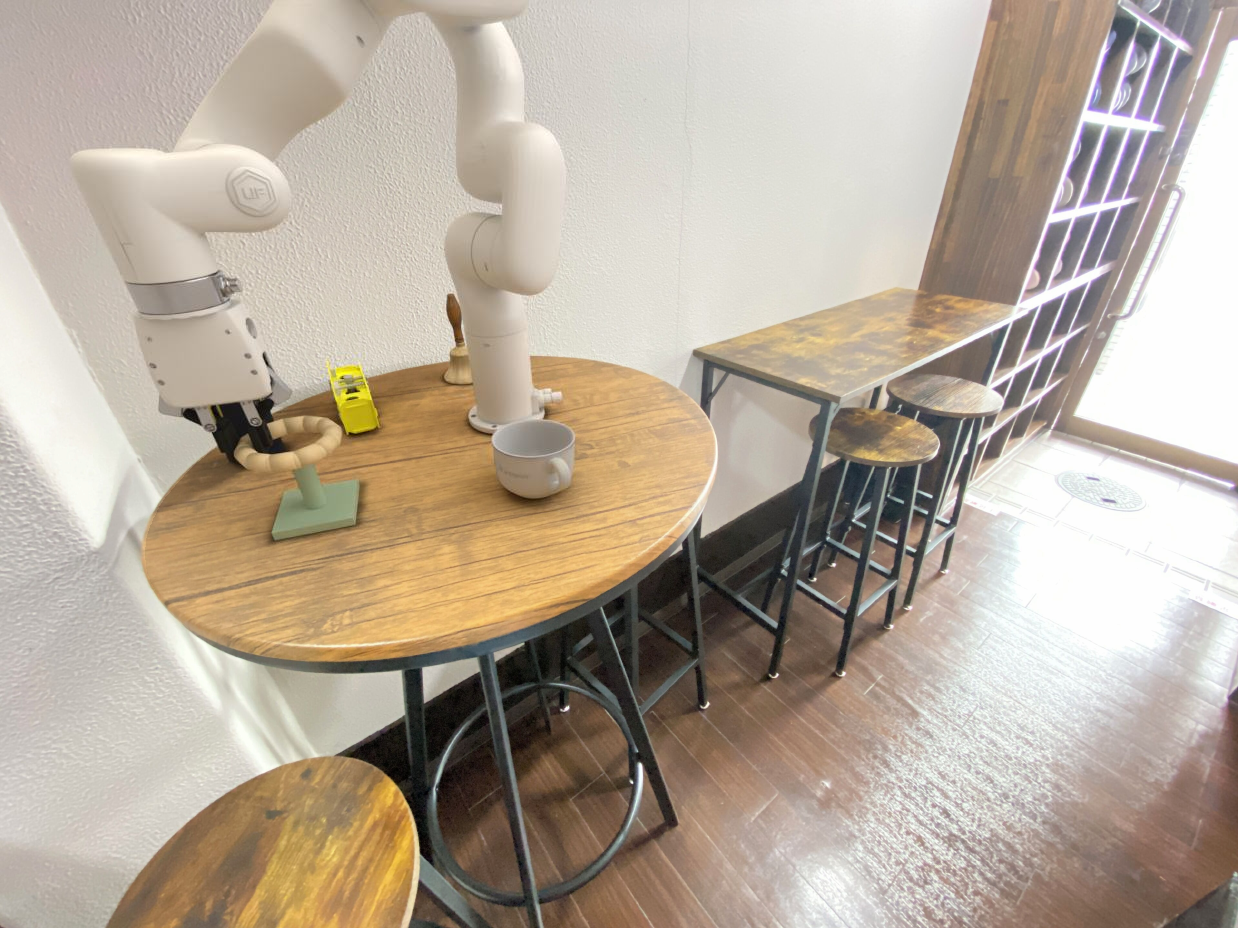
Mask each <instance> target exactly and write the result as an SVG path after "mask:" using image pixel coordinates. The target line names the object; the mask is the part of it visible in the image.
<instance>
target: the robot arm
mask: <svg viewBox="0 0 1238 928" xmlns="http://www.w3.org/2000/svg"><path fill="white" fill-rule="evenodd" d="M532 2H533V0H272V2H271V4H270V6H269V7H268V9H267V11H265V12H266V13H265V14H264V15H263V17H262V18H261V20H260V22H259V23H258V25H257V26H256V28H255V30H254V31H253V32H252V33H251V35H250V36H249V37H248V38H247V40H246V41H245V42H244V43H243V44H242V46H241V47H240V48H239V49H238V52H237V53H236V54H235V56H234V57H233V59H232V60H231V62H230V63H229V64H228V66H227V67H226V68H225V69H224V71H222V73H221V74H220V76H219V77H218V78H217V80H216V81H215V82H214V83H213V85H212V86H211V88H210V89H209V90H208V92H207V93H206V94H205V96H204V97H203V99H202V100H201V102H200V103H199V104H198V106H197V108H196V110H195V111H194V112H193V115H192V117H191V118H190V119H189V122H188V123H187V125H186V126H185V128H184V130H183V132H182V133H181V135H180V136H179V138H178V140H177V142H176V143H175V145H174V147H173V149H172V151H171V152H165V151H163V150H159V149H156V148H155V149H154V148H149V147H148V148H145V147H111V148H108V147H107V148H92V149H91V148H90V149H84V150H83V149H82V150H79V151H76V152H74V153H73V154H72V155H71V156H70V159H69V169H70V172H71V174H72V177H73V179H74V182H75V184H76V186H77V188H78V190H79V192H80V194H81V196H82V198H83V200H84V202H85V204H86V206H87V208H88V211H89V212H90V215H91V216H92V219H93V222H94V223H95V225H96V227H97V229H98V231H99V233H100V235H101V238H102V240H103V241H104V243H105V245H106V248H107V249H108V251H109V254H110V256H111V258H112V260H113V262H114V264H115V266H116V268H117V270H118V271H119V275H120V276H121V278H122V281H123V282H124V285H125V286H126V289H127V291H128V293H129V295H130V297H131V299H132V301H133V303H134V305H135V307H136V309H137V311H136V312H134V313H133V315H132V316H133V317H132V318H133V322H134V328H135V333H136V336H137V341H138V343H139V347H140V350H141V353H142V356H143V359H144V362H145V364H146V367H147V370H148V372H149V374H150V377H151V379H152V382H153V384H154V386H155V388H156V389H157V392H158V394H159V395H158V409H157V410H158V412H159V413H160V414H161V415H166V416H170V417H177V418H184V419H185V420H187V421H189V422H192V423H194V424H196V425H199V426H200V427H202V428H203V430H204V431H205V432H208V433H211V435H212V437H213V439H214V441H215V443H216V445H217V447H218V450H219V451H220V453H221V454H225V456H226V459H227V460H228V462H229V463H235V462H236V463H237V459H236V458H235V457H234V451H235V449H236V447H237V445H238V442H239V438H238V436H237V434H236V431H235V429H234V427H233V424H232V422H231V421H229V419H227V420H225V418H224V417H223V415H222V412H221V410H220V408H219V404H227V403H235V402H240V404H241V406H242V408H243V410H244V413H245V415H246V417H247V419H248V424H249V425H248V427H247V432H248V435H249V437H250V439H251V442H252V444H253V446H254V449H255V451H257V452H258V453H263V454H267V453H268V451H269V449H270V446H272V445H273V438H272V436H271V433H270V431H269V428H268V426H267V423H266V421H265V417H266V416H267V415H268V413H269V412H270V411H271V412H272V410H273V408H274V407H276V406H279V405H281V404H282V403H284V402H286V401H287V400H289V399H290V398H291V397H292V393H293V390H292V388H291V387H290V386H288V385H287V384H286V383H285V381H284V380H283V379H282V378H281V377H280V376H279V375H278V371H277V368H276V365H275V363H274V361H273V358H272V356H271V354H270V352H269V349H268V348H267V345H266V343H265V341H264V338H263V337H262V335H261V333H260V331H259V328H258V327H257V324H256V323H255V322H254V320H253V318H252V316H251V314H250V313H249V311H248V309H247V308H246V306H245V305H244V304H243V301H242V300H241V299H235V298H233V299H231V297H232V295H235V293H242V292H243V291H244V290H243V284H242V282H241V280H240V278H238V277H233V278H232V277H229V276H227V277H226V275H225V274H224V272H223V270H222V269H220V268H219V265H218V263H217V261H216V258H215V256H214V253H213V250H212V248H211V244H210V242H209V240H208V237H207V234H206V233H237V234H238V233H239V234H242V233H243V234H245V233H246V234H250V233H251V234H253V233H255V234H256V233H262V232H266V231H270V230H272V229H274V228H276V227H278V226H280V225H281V224H282V223H283V222H284V221H285V220H286V218H287V217H288V216H289V213H290V211H291V208H292V191H291V186H290V184H289V182H288V180H287V178H286V176H285V175H284V174H283V172H282V171H281V169H279V167H278V166H277V165H276V164H275V163H274V162H275V161H276V159H277V158H278V157H279V155H280V154H281V152H282V151H283V150H284V149H285V148H286V146H287V145H288V144H289V143H290V142H291V141H292V140H293V139H294V138H295V137H296V136H297V135H299V134H300V133H301V132H302V131H304V130H305V129H307V128H309V127H310V126H312V125H313V124H315V123H318V122H320V121H321V120H323V119H325V118H327V117H328V116H330V115H331V114H332V113H334V112H335V111H336V110H337V109H339V108H340V107H341V106H342V105H344V104H345V103H346V101H347V100H348V99H349V97H350V96H351V94H352V92H354V89H355V87H356V85H357V83H358V82H359V80H360V78H361V77H362V75H363V73H364V72H365V70H366V68H367V66H368V65H369V63H370V61H371V59H372V58H373V56H374V54H375V53H376V51H377V49H378V47H379V46H380V44H381V42H382V41H383V39H384V37H385V35H386V34H387V32H388V30H389V28H390V27H391V25H392V24H393V22H394V21H395V20H396V19H397V18H398V17H404V16H408V15H414V14H417V13H418V14H419V13H425V15H426V16H427V18H428V19H429V20H430V22H431V23H432V24H433V26H434V28H435V29H436V30H437V32H438V34H440V36H441V38H442V40H443V41H444V43H445V45H446V47H447V49H448V51H449V54H450V57H451V59H452V62H453V66H454V70H455V71H454V72H455V78H456V80H455V81H456V124H455V125H456V128H455V129H456V131H455V132H456V133H455V167H456V169H455V170H456V176H457V179H458V182H459V185H460V186H461V188H462V189H463V190H464V191H465V192H466V194H468V195H469V196H470V197H472V198H474V199H477V200H480V201H483V202H487V203H491V204H499V205H501V214H498V213H490V212H485V211H484V212H483V211H473V212H472V211H471V212H467V213H464V214H461V215H460V216H458V217H456V218H455V219H454V220H452V222H451V223H450V225H449V226H448V228H447V230H446V233H445V236H444V243H443V248H444V257H445V262H446V265H447V268H448V272H449V274H450V277H451V280H452V283H453V285H454V288H455V293H456V296H457V301H458V303H459V305H460V309H461V314H462V325H463V332H464V338H465V339H464V340H465V345H466V346H467V351H468V357H469V363H470V369H471V376H472V382H473V383H472V386H473V393H474V399H475V405H474V406H472V407H471V409H470V410H469V412H468V417H467V418H468V421H469V424H470V426H471V427H472V428H474V429H475V430H477V431H479V432H482V433H486V434H491V435H493V434H494V433H495V431H496V430H498V429H499V428H501V427H502V426H504V425H506V424H509V423H513V422H516V421H521V420H531V419H545V415H546V413H545V406H546V405H555V404H563V401H564V399H563V394H562V391H552V388H551V387H547V388H543V389H538V388H535V386H534V384H533V374H532V373H533V372H532V363H531V355H530V354H531V353H530V344H529V333H528V323H527V322H528V321H527V312H526V307H525V303H524V300H523V297H522V296H529V297H530V296H535V295H538V294H541V293H542V292H544V291H545V290H546V289H547V288H548V287H549V286H550V285H551V283H552V282H553V280H554V278H555V276H556V273H557V269H558V265H559V260H560V253H561V245H562V244H561V243H562V242H561V241H562V233H563V223H564V215H565V214H564V211H565V204H566V203H565V201H566V190H567V168H566V162H565V158H564V153H563V151H562V148H561V146H560V144H559V142H558V140H557V138H556V137H555V135H553V133H552V132H551V131H550V130H549V129H548V128H546V127H545V126H543V125H542V124H539V123H537V122H536V123H535V122H532V121H526V120H525V93H526V91H525V89H526V88H525V86H526V85H525V75H524V70H523V69H524V68H523V64H522V63H521V59H520V55H519V53H518V50H517V49H516V47H515V45H514V42H513V41H512V38H511V36H510V34H509V33H508V31H507V29H506V27H505V26H504V24H503V23H505V22H509V21H513V20H515V19H518V18H519V17H520V16H522V15H523V14H524V13H525V12H526V11H527V10H528V9H529V7H530V6H531V4H532ZM261 398H263V399H262V400H261Z"/></svg>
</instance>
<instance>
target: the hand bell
mask: <svg viewBox="0 0 1238 928" xmlns="http://www.w3.org/2000/svg"><path fill="white" fill-rule="evenodd" d="M445 311H446V316H447V320H448V321H449V323H450V326H451V328H452V331H453V338H454V342H455V346H454V347H453V348H451V349H450V350H449V366H448V369H447V371H445V373H444V376H443V379H444V381H445V382H447V383H448V384H450V385H458V386H459V385H460V386H461V385H464V386H465V385H471V384H473V382H472V376H471V369H470V363H469V357H468V351H467V345H466V341H465V339H464V338H465V337H464V334H463V330H462V324H463V320H462V314H461V309H460V304H459V300H458V299H457V298H456V296H455V294H454V293H447V294H446V303H445Z"/></svg>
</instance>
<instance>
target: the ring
mask: <svg viewBox="0 0 1238 928" xmlns="http://www.w3.org/2000/svg"><path fill="white" fill-rule="evenodd" d="M267 426H268V428H269V431H270V433H271V436H272V438H273V439H276V438H279V437H281V438H282V437H285V436H287V435H294V434H300V433H301V434H303V433H315V434H321V435H322V436H321V437H320V438H319V439H317V440H316V441H315V442H314V443H312V444H308V445H307V446H304V447H301V448H299V449H296V450H293V451H287V452H286V451H285V452H284V453H279V454H272V455H271V454H263V453H258V452H257V451H255V449H254V446H253V444H252V442H251V439H250V437H249V435H248V434H246V435H245V436H243V437H242V438H241V439H240V440H239V442H238V445H237V447H236V449H235V451H234V457H235V458H236V459H237V460H238V461H239V462H240V463H241V464H242V465H241V466H243V467H244V468H245V469H246V470H249V471H254V472H261V473H273V474H275V473H280V472H287V471H292V470H294V469H299V468H302V467H305V466H307V465H310V464H312V463H314V464H315V463H317V462H319V461H320V462H321V461H322V460H324V459H326V458H327V457H328V456H329V455H330V454H332V453H333V452H334V451H336V450H337V449H339V447H340V446H341V443H342V437H343V429H342V427H341V426H340V425H339V424H337V423H335V422H334V421H333V420H331V419H329V418H328V417H322V416H315V415H314V416H313V415H301V416H293V417H287V418H286V417H284V418H281V419H278V420H277V419H276V420H274V422H271V423H268V424H267ZM237 460H236V461H237Z"/></svg>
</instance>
